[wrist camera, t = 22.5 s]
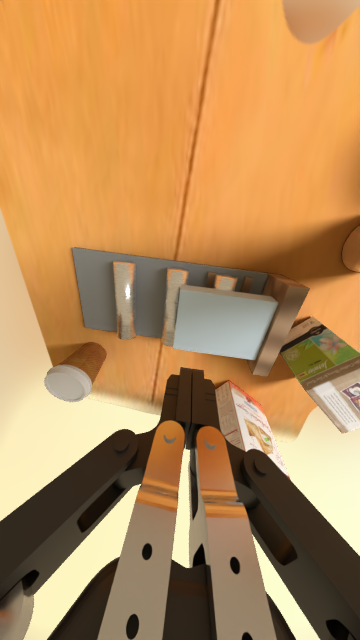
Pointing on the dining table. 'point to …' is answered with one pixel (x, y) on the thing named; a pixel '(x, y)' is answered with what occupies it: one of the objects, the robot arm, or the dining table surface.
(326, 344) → the tea box
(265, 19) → the dining table surface
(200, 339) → the slab
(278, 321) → the wooden stops
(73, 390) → the disposable coffee cup
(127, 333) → the bed rollers
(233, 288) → the roller
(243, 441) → the cracker box
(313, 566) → the robot arm
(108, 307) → the mat
